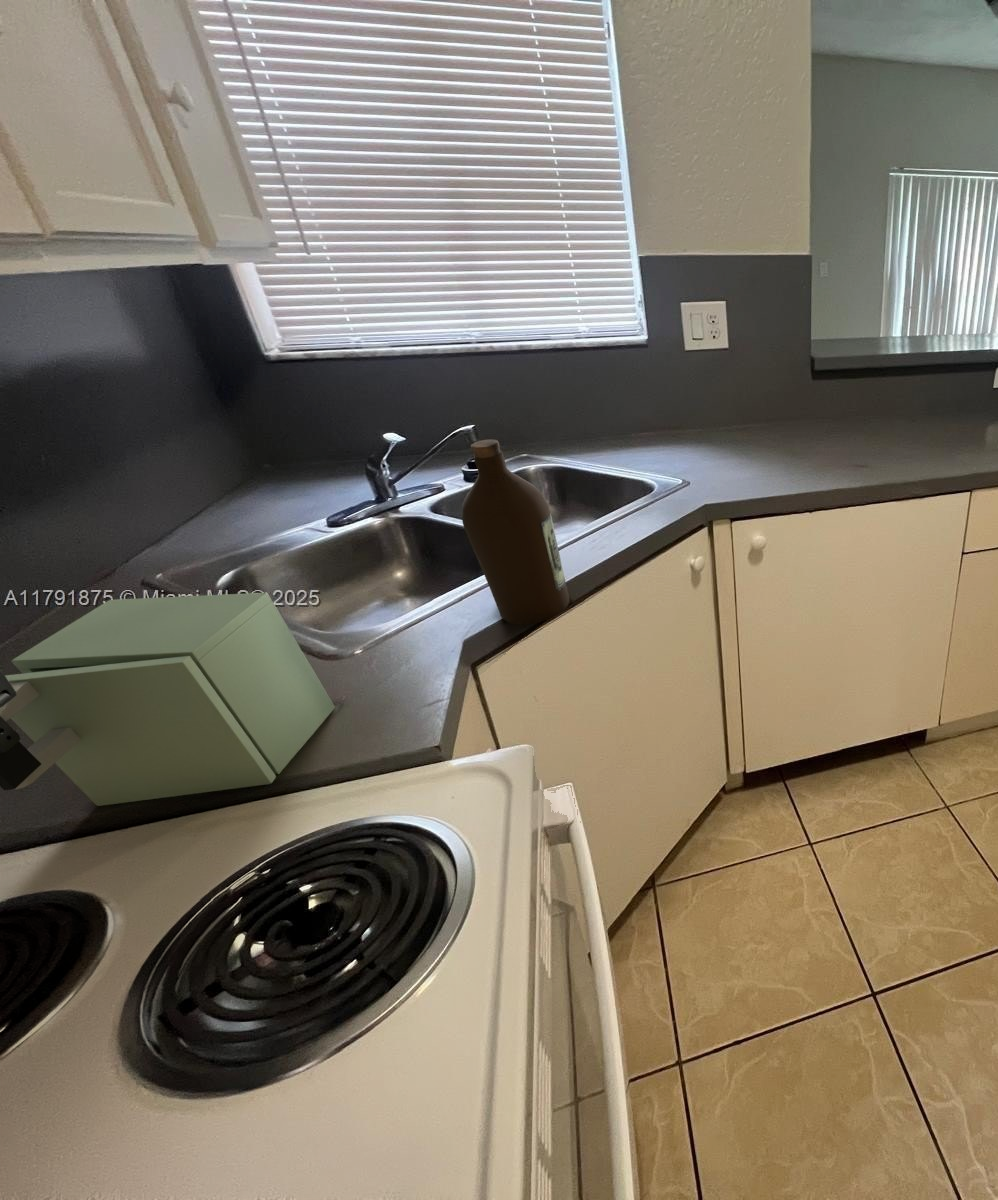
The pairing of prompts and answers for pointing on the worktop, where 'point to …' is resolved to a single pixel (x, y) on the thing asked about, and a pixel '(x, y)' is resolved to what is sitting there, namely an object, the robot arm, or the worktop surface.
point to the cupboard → (206, 659)
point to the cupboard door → (134, 730)
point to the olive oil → (513, 540)
